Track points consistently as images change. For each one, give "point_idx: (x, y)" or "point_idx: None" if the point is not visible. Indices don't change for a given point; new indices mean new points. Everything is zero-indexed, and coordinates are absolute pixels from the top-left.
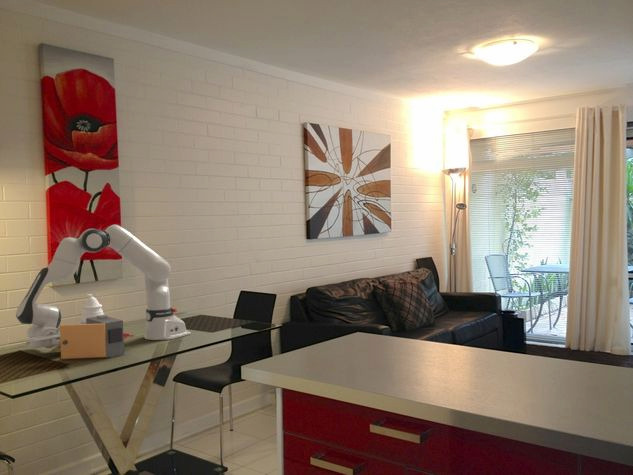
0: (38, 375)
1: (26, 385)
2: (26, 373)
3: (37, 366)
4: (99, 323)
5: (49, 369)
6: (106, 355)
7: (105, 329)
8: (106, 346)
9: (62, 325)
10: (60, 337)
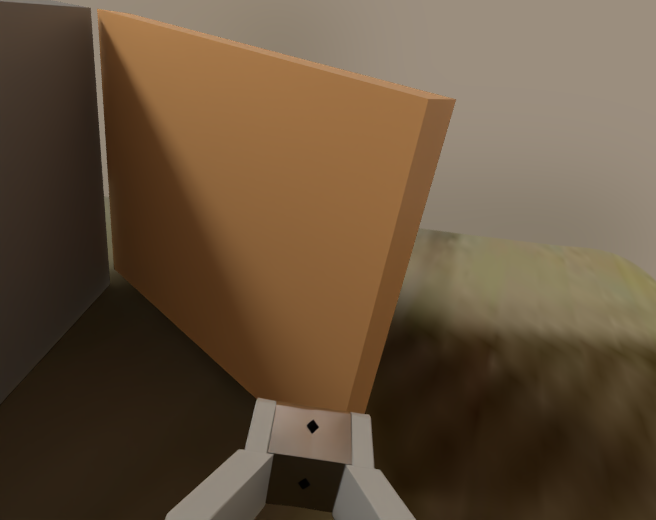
0: (547, 318)
1: (586, 270)
2: (622, 386)
3: (565, 479)
4: (16, 27)
5: (484, 353)
6: (108, 268)
7: (94, 70)
8: (103, 208)
9: (421, 90)
10: (407, 259)
